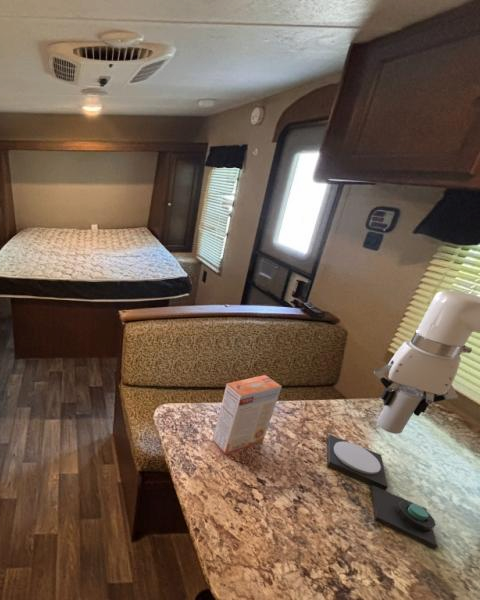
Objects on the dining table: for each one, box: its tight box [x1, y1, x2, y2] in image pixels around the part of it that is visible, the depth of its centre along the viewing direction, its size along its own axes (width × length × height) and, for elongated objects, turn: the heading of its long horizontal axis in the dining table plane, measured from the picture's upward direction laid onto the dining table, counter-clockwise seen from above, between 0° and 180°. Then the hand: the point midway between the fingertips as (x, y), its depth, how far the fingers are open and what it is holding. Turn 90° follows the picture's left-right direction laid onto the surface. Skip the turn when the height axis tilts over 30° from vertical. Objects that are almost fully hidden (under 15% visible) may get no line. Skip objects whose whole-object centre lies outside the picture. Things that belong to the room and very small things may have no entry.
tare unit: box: [369, 485, 438, 550], centre depth 74 cm, size 10×10×3 cm
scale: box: [326, 434, 389, 491], centre depth 87 cm, size 12×12×3 cm
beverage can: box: [376, 384, 423, 435], centre depth 79 cm, size 5×5×12 cm
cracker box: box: [212, 374, 283, 455], centre depth 89 cm, size 14×6×21 cm, turn 108°
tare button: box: [407, 503, 429, 521], centre depth 72 cm, size 3×3×2 cm
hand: (400, 406), depth 78 cm, fingers closed on beverage can, 4 cm apart
